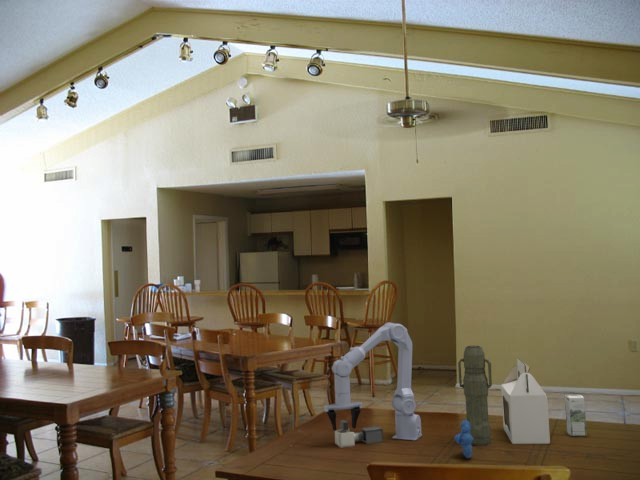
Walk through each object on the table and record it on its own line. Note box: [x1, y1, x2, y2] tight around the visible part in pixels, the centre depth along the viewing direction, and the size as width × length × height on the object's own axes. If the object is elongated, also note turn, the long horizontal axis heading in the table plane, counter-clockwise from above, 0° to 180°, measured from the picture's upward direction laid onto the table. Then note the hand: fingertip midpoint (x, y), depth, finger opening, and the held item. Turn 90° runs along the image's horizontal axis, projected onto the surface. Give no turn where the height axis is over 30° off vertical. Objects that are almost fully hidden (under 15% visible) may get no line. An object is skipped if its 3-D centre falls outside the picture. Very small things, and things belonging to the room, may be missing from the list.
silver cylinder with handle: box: [339, 419, 364, 442], centre depth 238 cm, size 9×4×8 cm, turn 106°
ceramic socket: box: [334, 428, 356, 448], centre depth 237 cm, size 6×6×5 cm
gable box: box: [500, 358, 551, 445], centre depth 238 cm, size 22×13×28 cm, turn 172°
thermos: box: [457, 345, 493, 446], centre depth 233 cm, size 9×12×35 cm
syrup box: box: [564, 394, 588, 437], centre depth 237 cm, size 6×6×14 cm
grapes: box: [453, 419, 474, 459], centre depth 216 cm, size 12×7×12 cm, turn 170°
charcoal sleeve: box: [361, 425, 384, 445], centre depth 240 cm, size 6×5×5 cm
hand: (344, 429), depth 237 cm, fingers open, 7 cm apart
